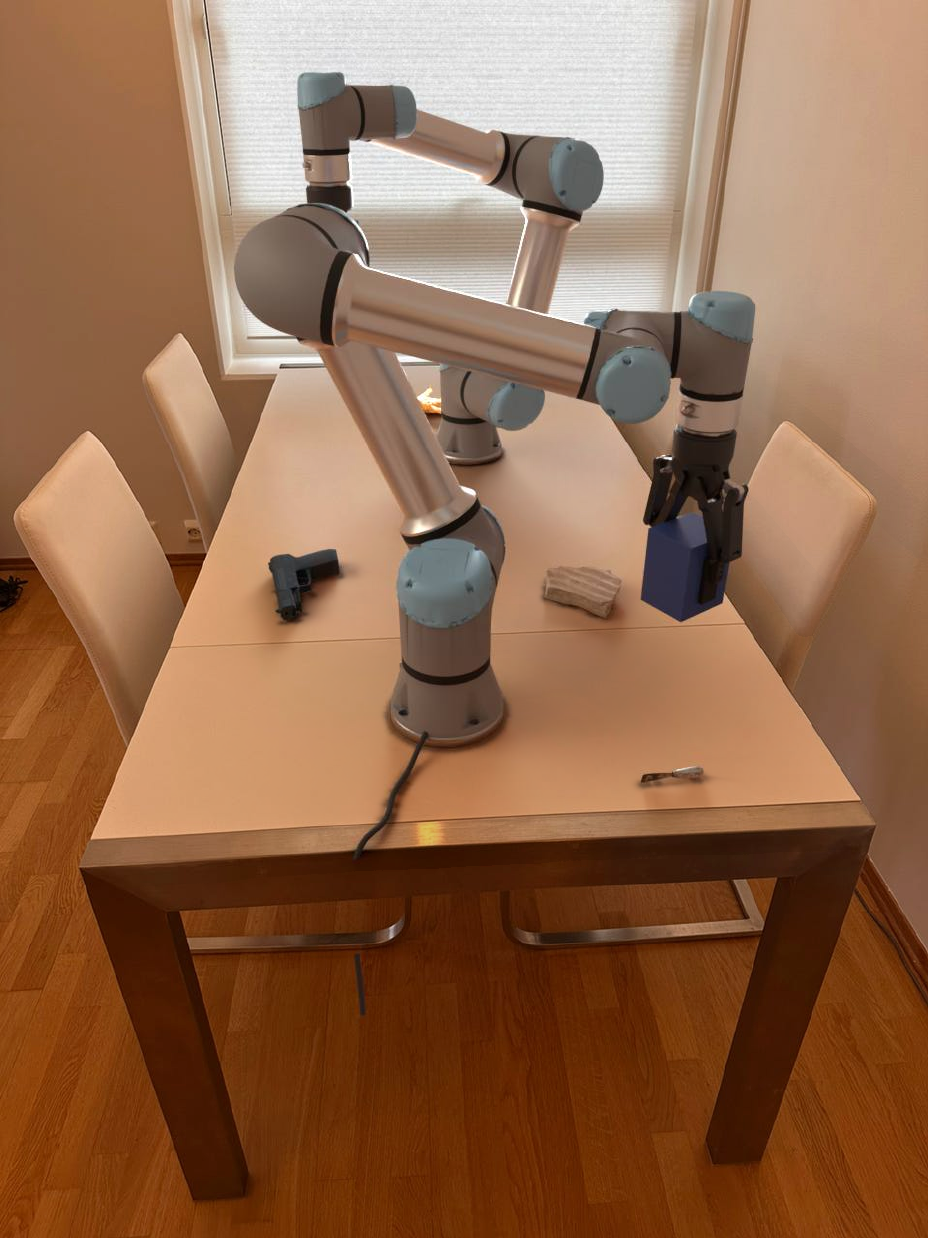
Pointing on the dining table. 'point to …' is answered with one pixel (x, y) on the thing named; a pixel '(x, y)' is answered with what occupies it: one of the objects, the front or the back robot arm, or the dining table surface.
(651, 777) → the putty knife
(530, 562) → the dining table surface
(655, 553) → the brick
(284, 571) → the handgun
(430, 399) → the human figure
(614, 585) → the stone
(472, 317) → the front robot arm
